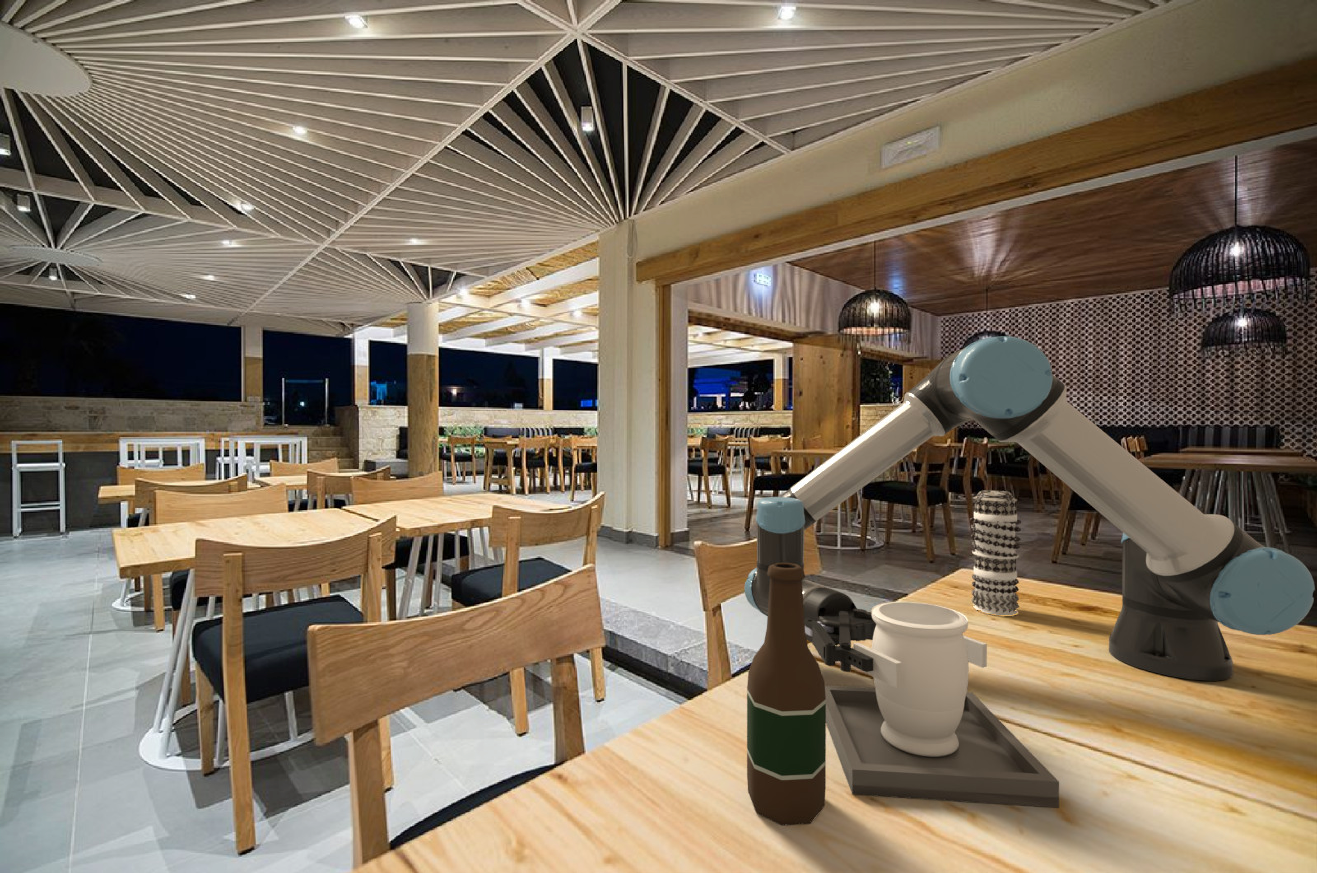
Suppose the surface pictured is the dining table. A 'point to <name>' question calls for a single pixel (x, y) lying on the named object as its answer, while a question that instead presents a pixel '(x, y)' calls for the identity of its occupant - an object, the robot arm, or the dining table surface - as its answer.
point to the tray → (972, 773)
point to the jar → (922, 675)
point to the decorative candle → (995, 553)
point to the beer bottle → (786, 711)
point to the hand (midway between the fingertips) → (943, 665)
